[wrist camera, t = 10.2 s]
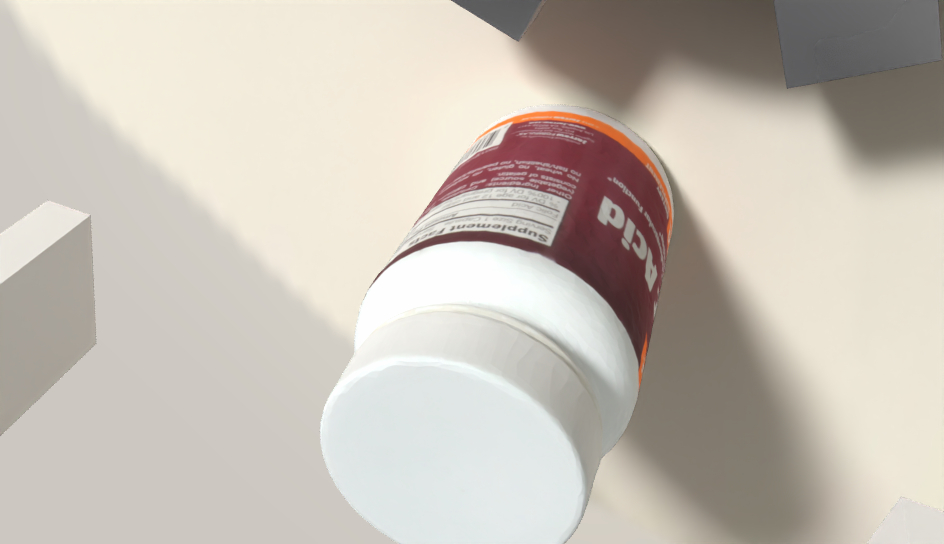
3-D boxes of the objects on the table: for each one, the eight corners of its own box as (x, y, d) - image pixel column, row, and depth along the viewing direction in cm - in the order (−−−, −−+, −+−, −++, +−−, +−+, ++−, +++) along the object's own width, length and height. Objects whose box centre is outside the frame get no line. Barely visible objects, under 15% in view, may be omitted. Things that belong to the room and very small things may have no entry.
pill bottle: (687, 289, 20) (637, 603, 13) (483, 295, 21) (345, 575, 15) (664, 84, 17) (587, 336, 11) (437, 107, 19) (248, 340, 12)
